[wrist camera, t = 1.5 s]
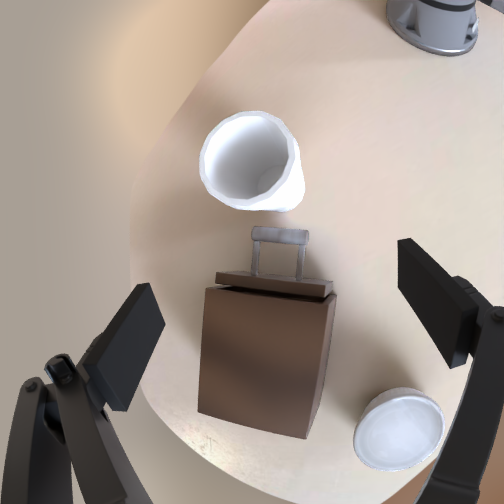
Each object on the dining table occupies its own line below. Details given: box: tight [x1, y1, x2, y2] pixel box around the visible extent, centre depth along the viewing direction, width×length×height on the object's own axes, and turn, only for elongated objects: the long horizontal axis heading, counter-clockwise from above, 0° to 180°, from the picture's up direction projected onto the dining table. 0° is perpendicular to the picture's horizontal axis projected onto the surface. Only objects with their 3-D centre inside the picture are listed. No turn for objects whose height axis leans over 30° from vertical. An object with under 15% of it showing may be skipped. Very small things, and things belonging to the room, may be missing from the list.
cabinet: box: [198, 285, 337, 439], centre depth 35 cm, size 15×13×10 cm
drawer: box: [215, 226, 333, 303], centre depth 35 cm, size 19×11×8 cm, turn 174°
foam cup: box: [199, 111, 305, 212], centre depth 34 cm, size 10×9×13 cm
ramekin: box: [353, 387, 445, 471], centre depth 31 cm, size 11×11×5 cm
